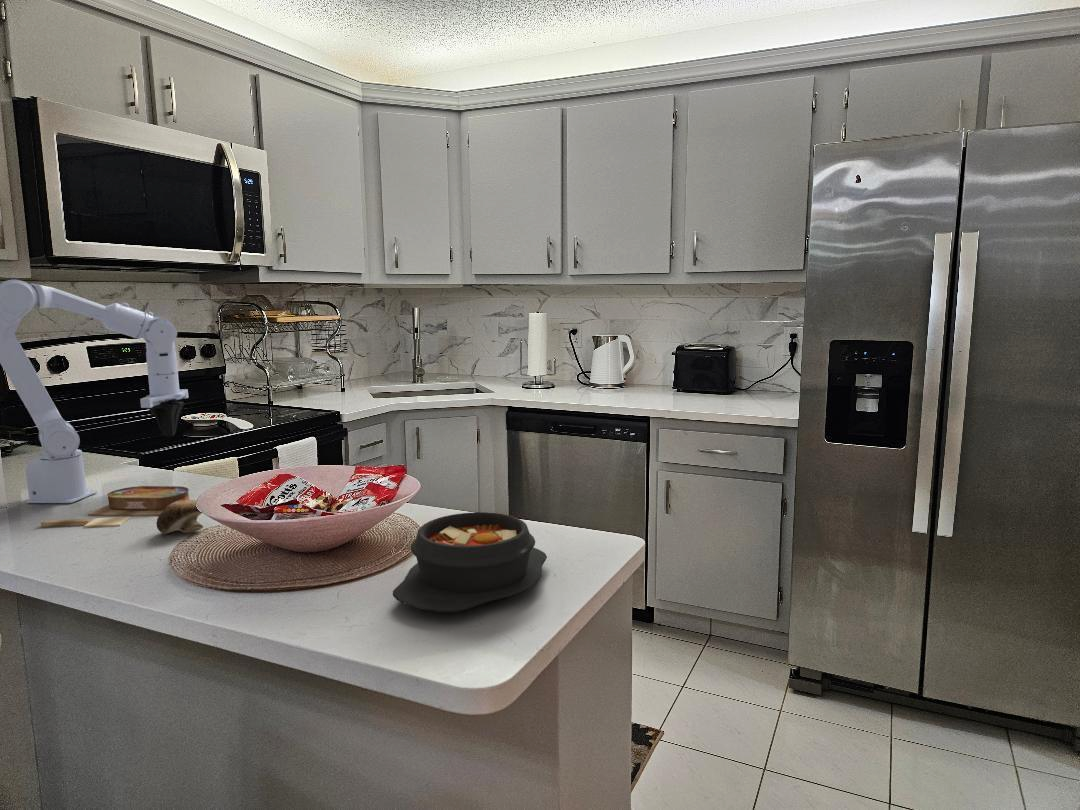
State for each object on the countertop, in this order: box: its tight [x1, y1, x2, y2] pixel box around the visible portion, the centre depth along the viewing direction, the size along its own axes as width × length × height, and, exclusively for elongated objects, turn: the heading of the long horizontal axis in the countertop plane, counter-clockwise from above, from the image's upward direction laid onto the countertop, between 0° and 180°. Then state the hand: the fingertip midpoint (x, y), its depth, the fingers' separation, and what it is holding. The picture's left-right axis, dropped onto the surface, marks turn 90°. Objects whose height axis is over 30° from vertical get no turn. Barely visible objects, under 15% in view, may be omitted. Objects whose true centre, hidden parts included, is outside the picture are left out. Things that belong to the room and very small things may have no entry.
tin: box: [106, 485, 190, 510], centre depth 138 cm, size 15×3×8 cm
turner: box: [40, 516, 132, 529], centre depth 128 cm, size 14×4×1 cm, turn 97°
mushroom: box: [155, 499, 204, 535], centre depth 122 cm, size 8×8×6 cm
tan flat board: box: [87, 504, 163, 517], centre depth 137 cm, size 17×8×1 cm, turn 87°
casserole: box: [392, 511, 548, 613], centre depth 97 cm, size 25×19×8 cm
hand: (169, 435), depth 155 cm, fingers closed
